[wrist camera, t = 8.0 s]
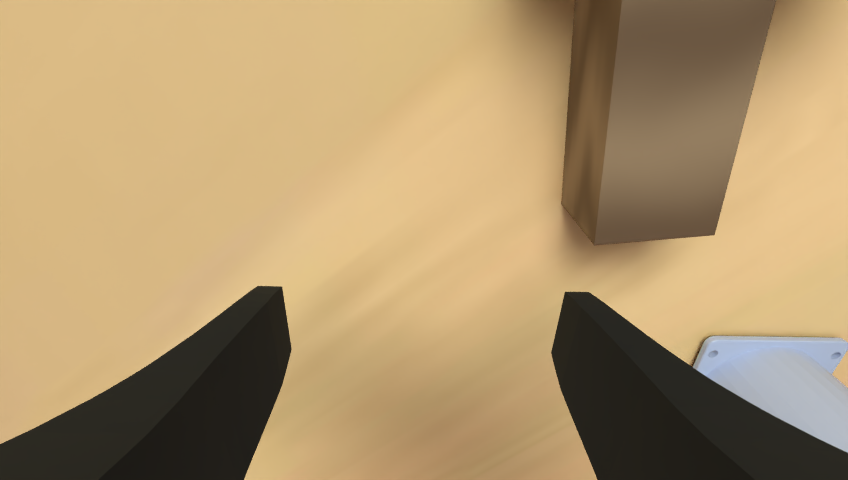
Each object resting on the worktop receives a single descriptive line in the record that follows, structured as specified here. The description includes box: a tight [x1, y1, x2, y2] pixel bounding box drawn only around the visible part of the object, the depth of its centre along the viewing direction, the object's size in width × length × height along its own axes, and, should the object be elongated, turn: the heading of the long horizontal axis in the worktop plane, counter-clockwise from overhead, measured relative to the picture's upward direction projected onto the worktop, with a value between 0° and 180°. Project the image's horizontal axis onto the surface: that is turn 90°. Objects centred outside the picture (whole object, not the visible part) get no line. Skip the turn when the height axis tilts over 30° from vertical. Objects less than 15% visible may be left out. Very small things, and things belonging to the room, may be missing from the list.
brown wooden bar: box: [561, 0, 776, 245], centre depth 15 cm, size 14×4×4 cm, turn 5°
